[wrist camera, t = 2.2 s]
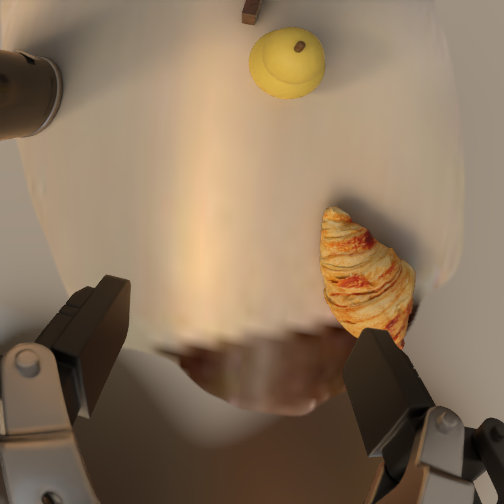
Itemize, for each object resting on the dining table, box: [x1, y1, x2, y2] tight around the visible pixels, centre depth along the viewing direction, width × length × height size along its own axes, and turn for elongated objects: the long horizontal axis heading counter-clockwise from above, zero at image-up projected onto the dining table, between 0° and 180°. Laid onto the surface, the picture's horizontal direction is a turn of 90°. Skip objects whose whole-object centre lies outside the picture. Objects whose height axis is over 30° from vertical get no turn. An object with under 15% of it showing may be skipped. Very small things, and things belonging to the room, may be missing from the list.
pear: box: [249, 27, 325, 99], centre depth 21 cm, size 6×6×11 cm
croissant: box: [320, 207, 416, 350], centre depth 33 cm, size 21×10×8 cm, turn 33°
